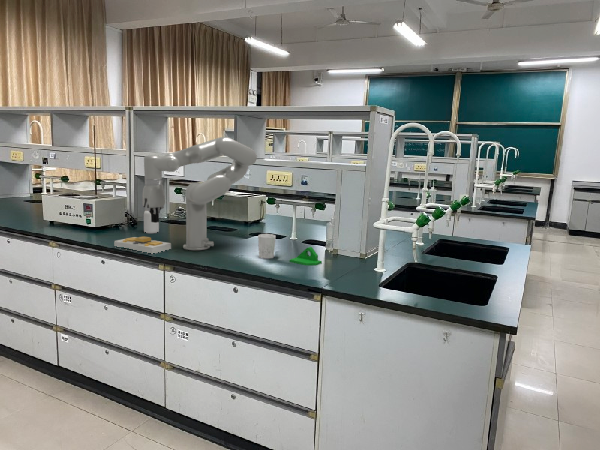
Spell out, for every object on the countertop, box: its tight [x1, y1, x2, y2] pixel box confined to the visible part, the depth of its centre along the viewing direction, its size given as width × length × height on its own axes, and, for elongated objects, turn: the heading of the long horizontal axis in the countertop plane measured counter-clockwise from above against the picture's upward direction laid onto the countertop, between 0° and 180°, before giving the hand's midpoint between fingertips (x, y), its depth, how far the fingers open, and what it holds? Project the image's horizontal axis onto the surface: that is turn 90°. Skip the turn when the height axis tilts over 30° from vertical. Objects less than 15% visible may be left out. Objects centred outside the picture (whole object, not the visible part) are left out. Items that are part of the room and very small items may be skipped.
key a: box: [146, 240, 163, 246], centre depth 210 cm, size 5×5×3 cm
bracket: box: [289, 246, 323, 267], centre depth 198 cm, size 12×8×7 cm, turn 56°
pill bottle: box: [143, 210, 160, 234], centre depth 250 cm, size 8×8×15 cm
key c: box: [124, 236, 135, 242], centre depth 216 cm, size 5×5×3 cm
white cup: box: [257, 233, 277, 260], centre depth 205 cm, size 8×8×10 cm
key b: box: [135, 235, 152, 244], centre depth 212 cm, size 5×5×3 cm
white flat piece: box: [113, 236, 172, 255], centre depth 212 cm, size 24×12×4 cm, turn 63°
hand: (155, 222), depth 208 cm, fingers closed
